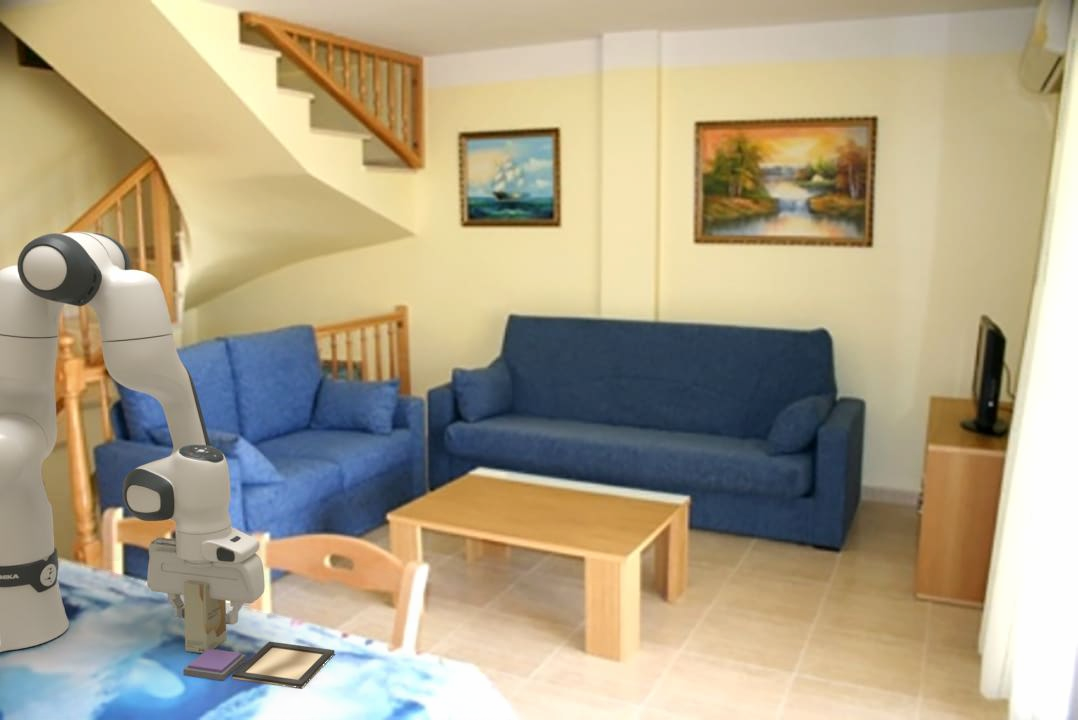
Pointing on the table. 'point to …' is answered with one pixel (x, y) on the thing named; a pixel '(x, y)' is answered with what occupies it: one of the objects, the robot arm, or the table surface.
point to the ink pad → (215, 664)
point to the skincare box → (203, 618)
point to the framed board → (283, 664)
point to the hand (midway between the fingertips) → (206, 619)
